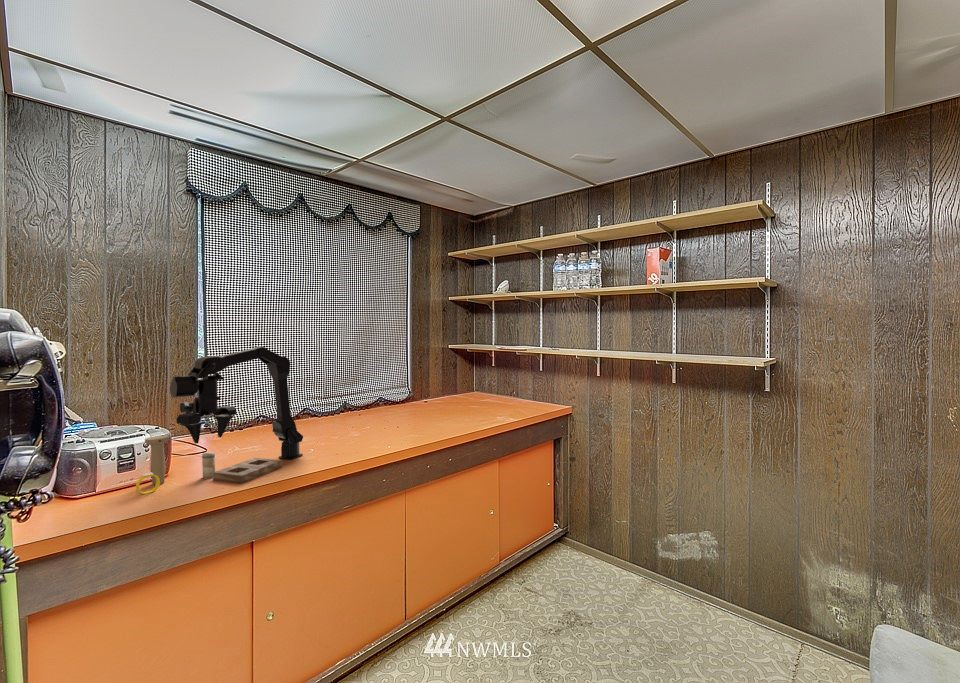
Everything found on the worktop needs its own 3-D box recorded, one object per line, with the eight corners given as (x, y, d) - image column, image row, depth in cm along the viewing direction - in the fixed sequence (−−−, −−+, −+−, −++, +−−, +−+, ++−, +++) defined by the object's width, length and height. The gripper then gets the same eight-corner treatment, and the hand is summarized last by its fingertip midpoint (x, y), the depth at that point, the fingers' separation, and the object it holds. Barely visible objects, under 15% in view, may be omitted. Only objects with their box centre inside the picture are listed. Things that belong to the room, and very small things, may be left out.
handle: (172, 482, 149) (171, 436, 148) (149, 487, 144) (148, 440, 143) (166, 479, 152) (165, 434, 151) (143, 484, 146) (142, 438, 146)
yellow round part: (140, 497, 136) (138, 478, 136) (135, 495, 138) (133, 476, 137) (162, 489, 142) (160, 471, 141) (157, 488, 143) (155, 470, 142)
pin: (209, 474, 157) (208, 451, 156) (217, 475, 155) (217, 452, 155) (199, 478, 153) (199, 454, 153) (208, 479, 152) (208, 455, 152)
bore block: (254, 464, 168) (254, 457, 168) (281, 467, 165) (281, 460, 165) (213, 479, 151) (212, 472, 151) (242, 483, 148) (241, 475, 147)
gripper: (212, 389, 165) (213, 432, 165) (163, 397, 147) (164, 445, 147) (237, 390, 161) (237, 434, 162) (189, 398, 144) (190, 447, 144)
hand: (208, 440), depth 154 cm, fingers open, 9 cm apart
